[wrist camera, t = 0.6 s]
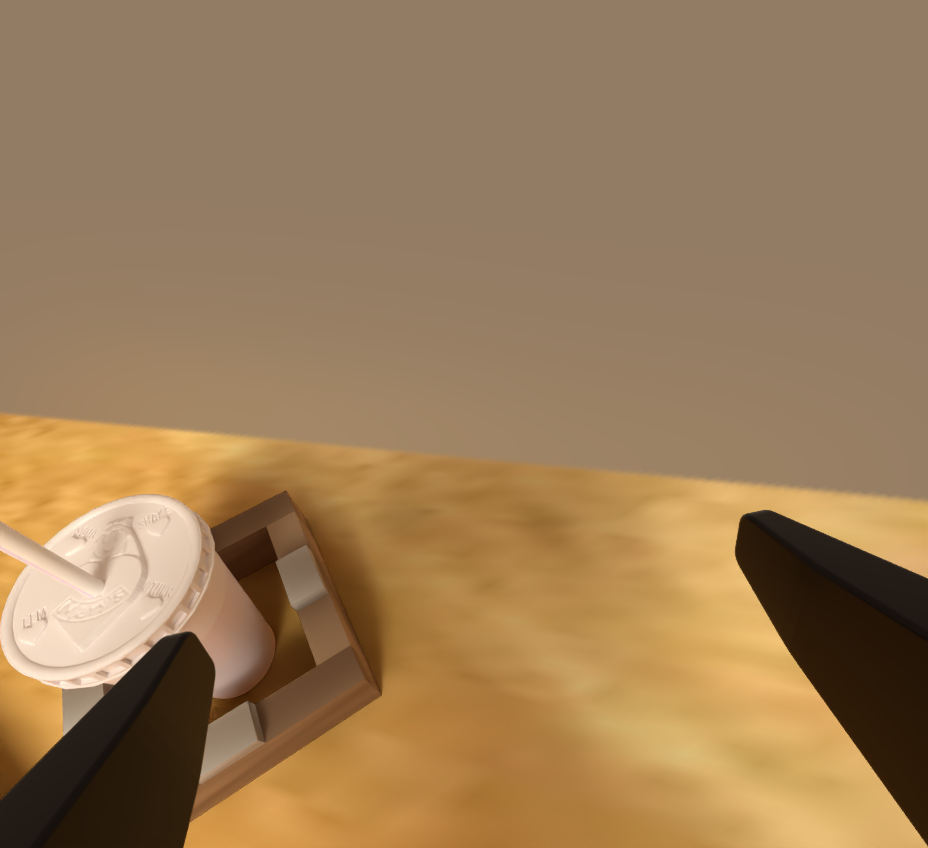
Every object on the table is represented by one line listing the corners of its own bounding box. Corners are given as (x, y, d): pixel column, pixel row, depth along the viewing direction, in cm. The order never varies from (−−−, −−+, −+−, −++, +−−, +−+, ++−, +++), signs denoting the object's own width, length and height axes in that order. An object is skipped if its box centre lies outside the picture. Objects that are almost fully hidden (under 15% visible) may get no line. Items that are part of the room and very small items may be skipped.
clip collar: (381, 694, 22) (359, 674, 19) (135, 858, 19) (66, 862, 16) (305, 518, 28) (280, 483, 25) (112, 621, 25) (60, 594, 22)
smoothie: (155, 749, 21) (-224, 667, 10) (182, 605, 25) (-71, 440, 15) (302, 714, 21) (78, 598, 11) (304, 577, 26) (144, 395, 15)
